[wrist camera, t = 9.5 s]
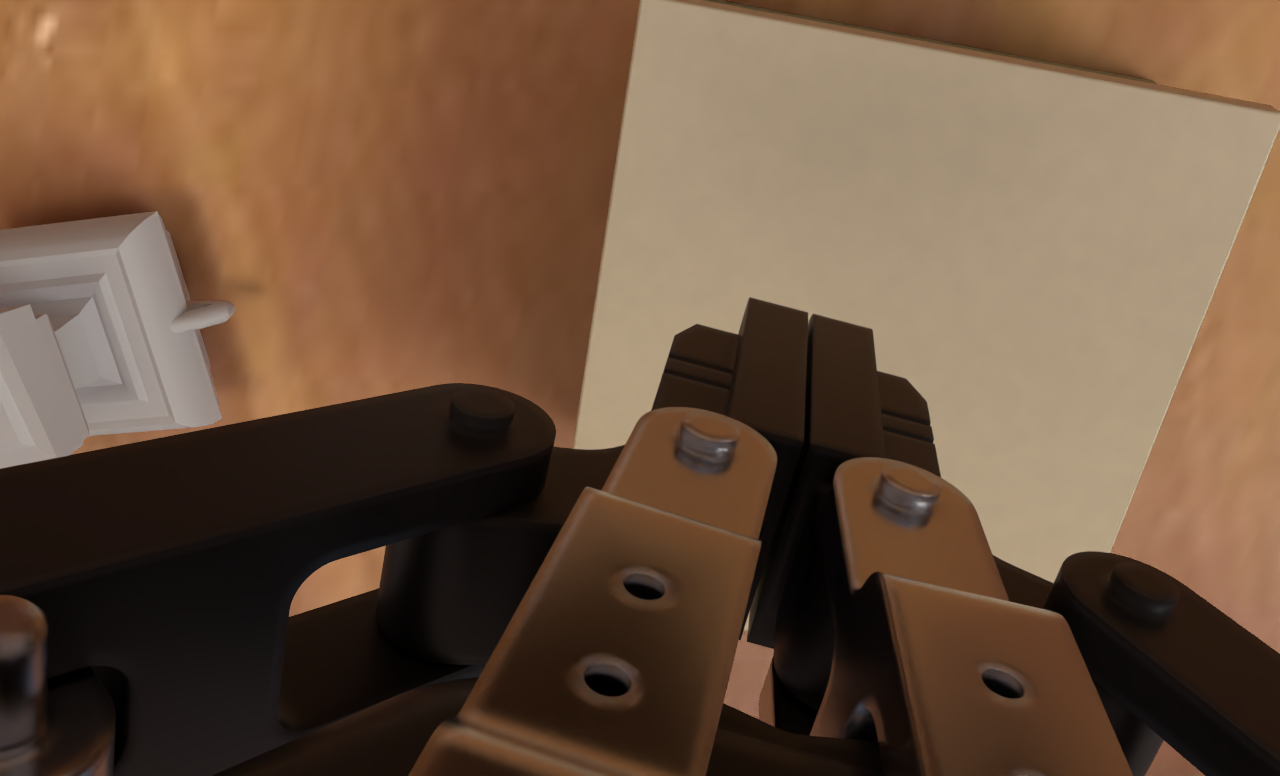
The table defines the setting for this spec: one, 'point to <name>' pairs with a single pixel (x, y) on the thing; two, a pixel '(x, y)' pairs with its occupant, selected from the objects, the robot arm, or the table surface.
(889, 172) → the lid
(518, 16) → the table surface
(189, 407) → the stamp
